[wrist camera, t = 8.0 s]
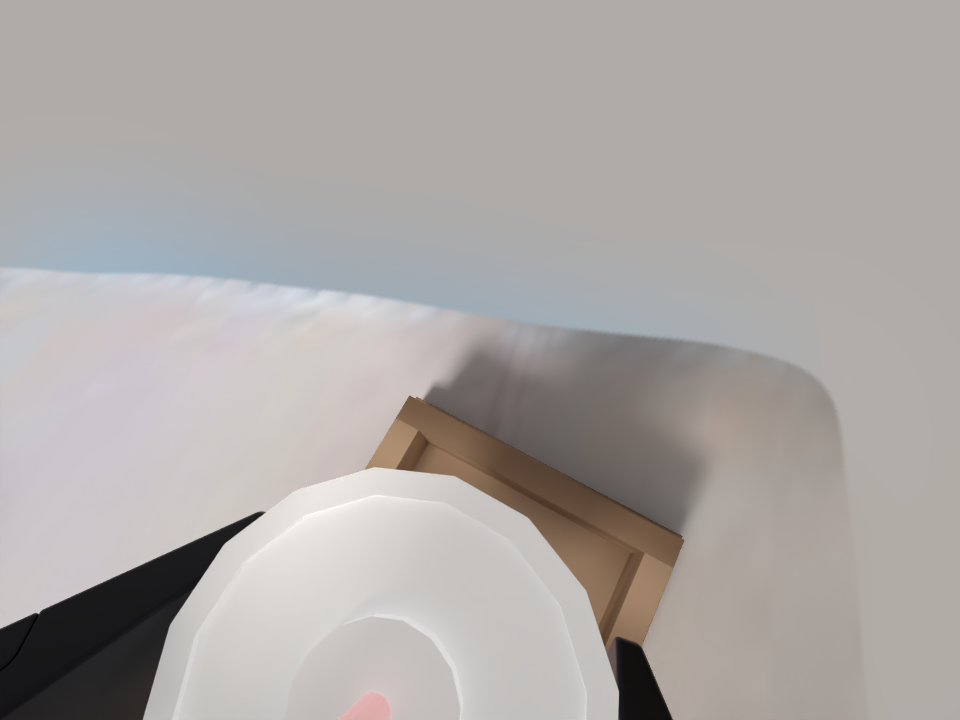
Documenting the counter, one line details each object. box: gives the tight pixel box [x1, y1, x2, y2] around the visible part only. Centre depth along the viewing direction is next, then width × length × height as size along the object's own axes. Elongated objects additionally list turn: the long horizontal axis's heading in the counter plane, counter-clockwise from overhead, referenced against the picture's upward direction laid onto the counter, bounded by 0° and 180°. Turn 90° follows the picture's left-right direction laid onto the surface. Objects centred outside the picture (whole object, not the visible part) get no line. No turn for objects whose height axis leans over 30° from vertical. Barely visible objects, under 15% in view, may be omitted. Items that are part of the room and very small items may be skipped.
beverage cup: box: [143, 467, 619, 720], centre depth 9 cm, size 6×6×14 cm
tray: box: [365, 396, 684, 653], centre depth 19 cm, size 12×12×4 cm
